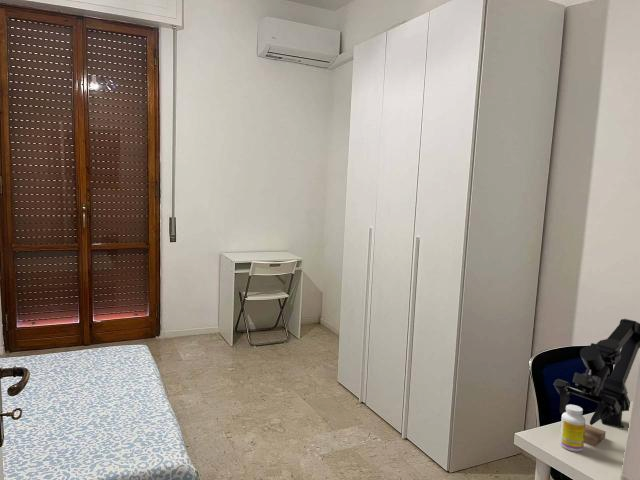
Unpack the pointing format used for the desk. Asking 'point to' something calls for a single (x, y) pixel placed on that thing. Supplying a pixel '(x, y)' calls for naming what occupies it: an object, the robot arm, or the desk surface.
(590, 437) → the walnut plinth
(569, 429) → the supplement bottle
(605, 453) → the desk surface
